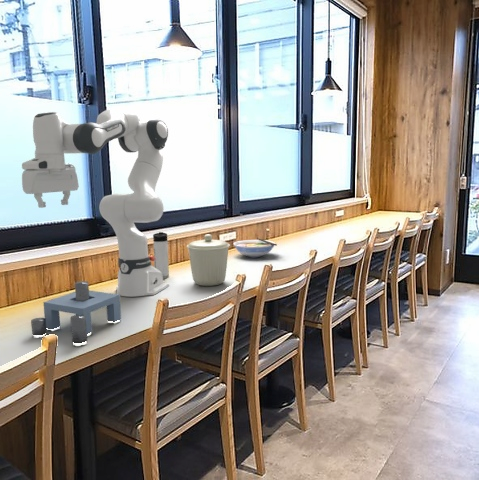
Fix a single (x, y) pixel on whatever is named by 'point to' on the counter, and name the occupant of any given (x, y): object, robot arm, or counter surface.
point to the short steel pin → (38, 326)
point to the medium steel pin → (78, 328)
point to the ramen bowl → (254, 247)
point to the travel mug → (161, 253)
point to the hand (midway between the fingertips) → (53, 206)
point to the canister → (208, 260)
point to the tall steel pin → (82, 291)
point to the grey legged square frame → (82, 307)
